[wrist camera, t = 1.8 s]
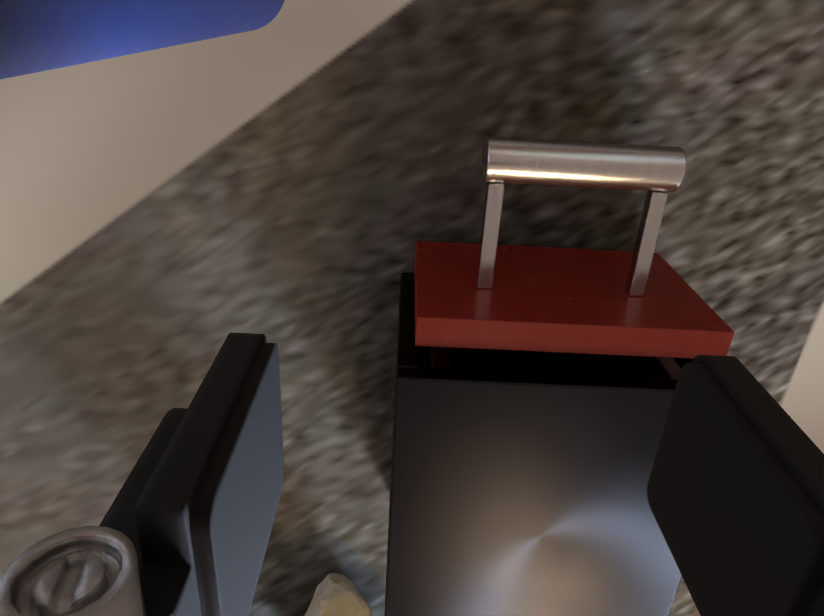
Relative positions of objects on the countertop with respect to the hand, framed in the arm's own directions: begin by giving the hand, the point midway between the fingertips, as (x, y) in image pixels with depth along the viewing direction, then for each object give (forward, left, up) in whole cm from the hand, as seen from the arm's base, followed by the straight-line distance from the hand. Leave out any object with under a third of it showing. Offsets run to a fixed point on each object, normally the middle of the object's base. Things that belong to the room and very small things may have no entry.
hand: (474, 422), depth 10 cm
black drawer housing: (+5, -13, -20) cm, 24 cm away
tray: (+5, -8, -19) cm, 21 cm away
